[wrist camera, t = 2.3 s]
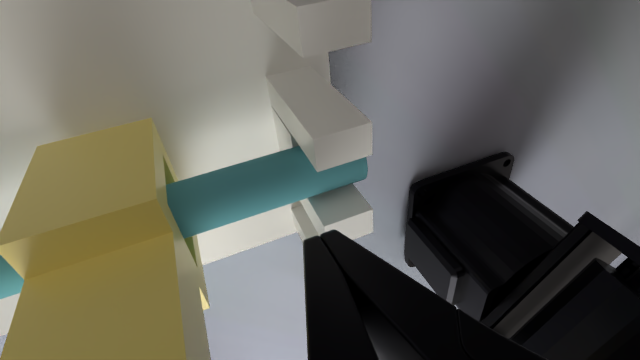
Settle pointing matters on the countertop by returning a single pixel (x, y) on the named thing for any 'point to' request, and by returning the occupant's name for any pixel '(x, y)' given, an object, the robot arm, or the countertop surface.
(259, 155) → the cable comb
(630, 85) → the countertop surface
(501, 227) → the robot arm
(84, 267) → the sleeve
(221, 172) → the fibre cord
